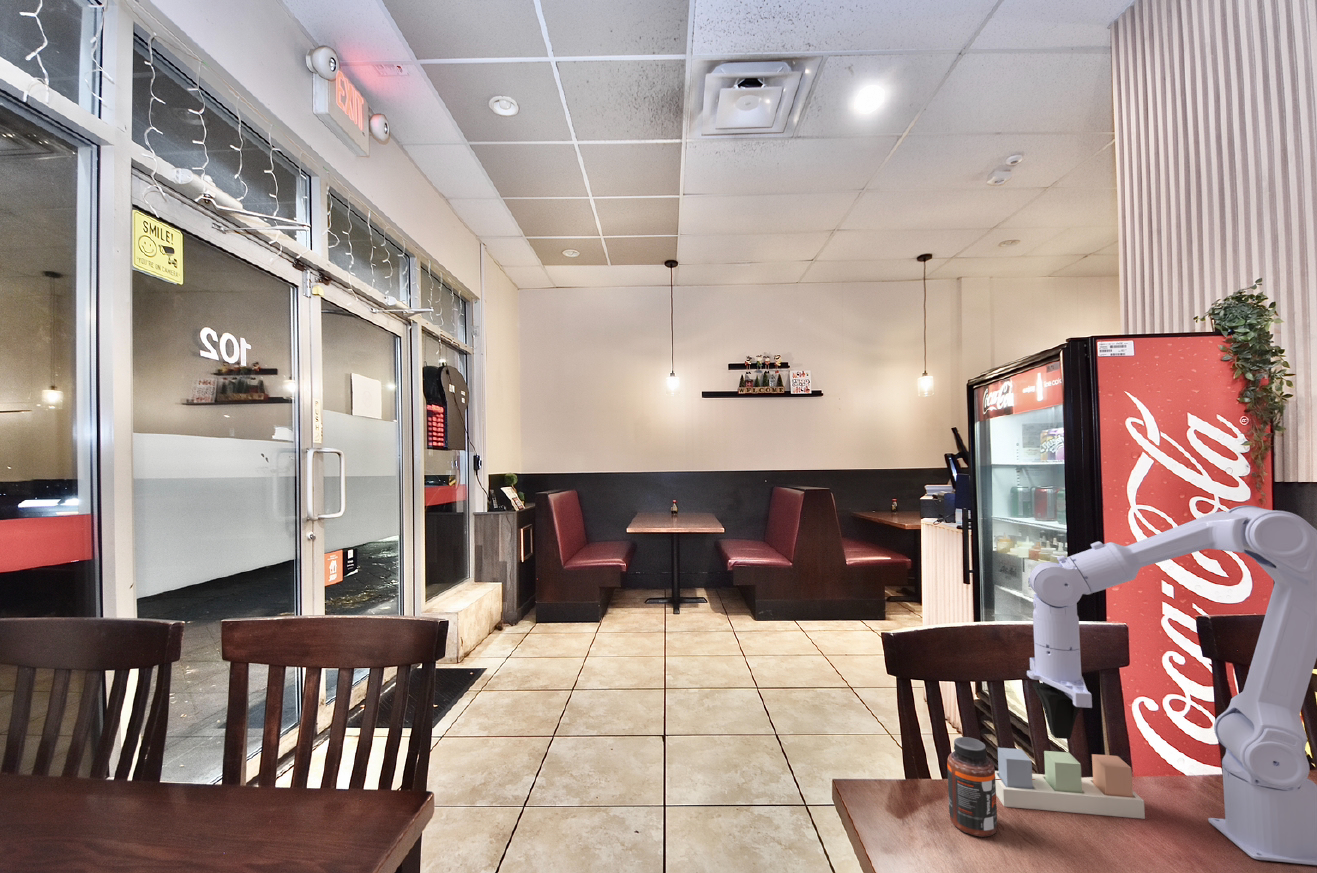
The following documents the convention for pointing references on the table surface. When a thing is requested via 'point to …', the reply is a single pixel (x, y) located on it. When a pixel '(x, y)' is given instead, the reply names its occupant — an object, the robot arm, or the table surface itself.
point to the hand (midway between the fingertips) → (1060, 736)
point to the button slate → (1015, 768)
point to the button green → (1062, 772)
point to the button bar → (1069, 799)
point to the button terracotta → (1112, 775)
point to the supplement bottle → (972, 788)
